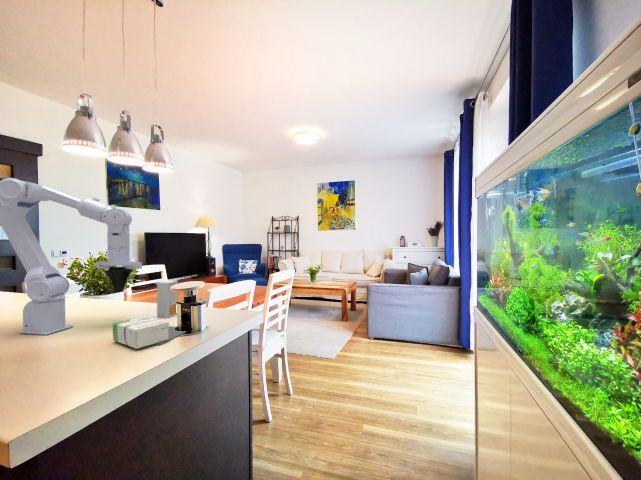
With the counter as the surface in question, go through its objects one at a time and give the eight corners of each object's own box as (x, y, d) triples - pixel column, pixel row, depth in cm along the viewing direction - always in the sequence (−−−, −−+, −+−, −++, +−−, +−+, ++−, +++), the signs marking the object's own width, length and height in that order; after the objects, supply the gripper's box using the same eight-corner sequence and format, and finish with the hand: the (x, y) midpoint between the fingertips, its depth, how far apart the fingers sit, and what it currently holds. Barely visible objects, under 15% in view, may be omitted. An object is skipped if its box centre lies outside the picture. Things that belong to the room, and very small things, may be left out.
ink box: (112, 341, 79) (135, 350, 72) (112, 322, 79) (135, 329, 72) (146, 332, 86) (170, 340, 80) (146, 314, 86) (169, 321, 80)
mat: (119, 342, 79) (119, 341, 79) (157, 326, 93) (157, 325, 93) (160, 345, 77) (160, 344, 77) (193, 328, 90) (193, 327, 90)
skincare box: (168, 318, 102) (168, 282, 102) (156, 317, 102) (156, 282, 102) (178, 313, 108) (178, 280, 108) (166, 313, 108) (166, 279, 108)
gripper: (149, 247, 96) (149, 290, 96) (109, 247, 99) (110, 288, 99) (131, 248, 89) (131, 294, 89) (89, 248, 92) (90, 292, 92)
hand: (119, 291), depth 94 cm, fingers closed
